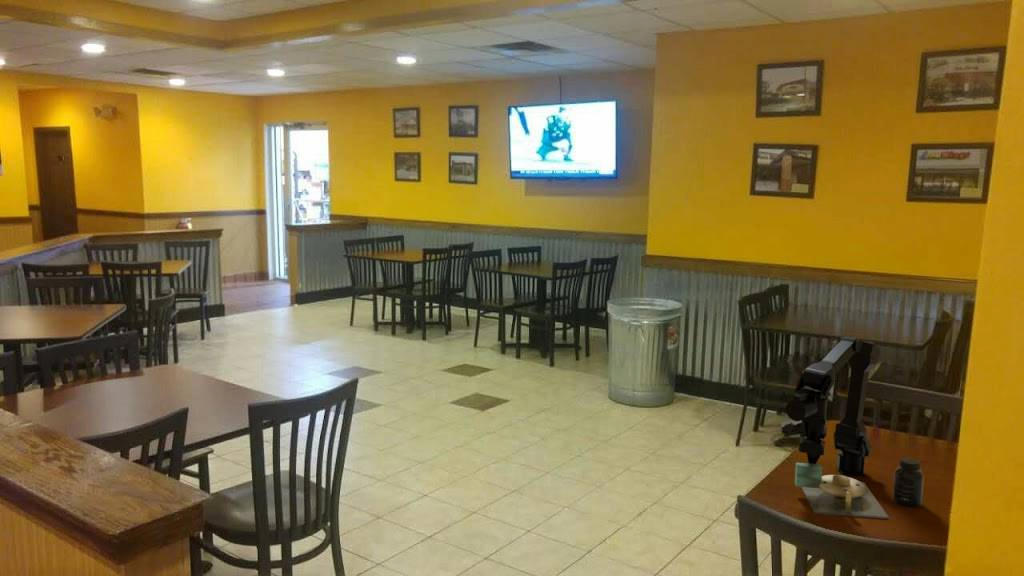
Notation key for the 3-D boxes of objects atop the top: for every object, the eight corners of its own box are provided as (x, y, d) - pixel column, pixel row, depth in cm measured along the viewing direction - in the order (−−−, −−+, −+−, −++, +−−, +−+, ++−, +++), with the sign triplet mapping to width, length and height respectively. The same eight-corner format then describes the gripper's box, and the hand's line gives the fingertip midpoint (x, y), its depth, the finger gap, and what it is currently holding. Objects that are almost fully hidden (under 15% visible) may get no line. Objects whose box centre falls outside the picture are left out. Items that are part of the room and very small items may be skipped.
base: (863, 483, 209) (864, 463, 208) (888, 519, 188) (890, 497, 187) (797, 479, 212) (798, 459, 211) (814, 513, 191) (816, 491, 190)
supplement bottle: (895, 495, 202) (899, 453, 200) (923, 502, 197) (927, 459, 196) (890, 503, 196) (893, 461, 195) (918, 511, 192) (922, 467, 190)
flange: (857, 480, 204) (859, 460, 203) (870, 499, 192) (872, 477, 192) (791, 476, 207) (792, 456, 206) (800, 494, 196) (801, 472, 195)
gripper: (786, 400, 212) (783, 451, 214) (780, 419, 195) (777, 474, 198) (828, 405, 207) (824, 457, 210) (825, 425, 191) (821, 482, 193)
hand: (811, 467), depth 203 cm, fingers closed
